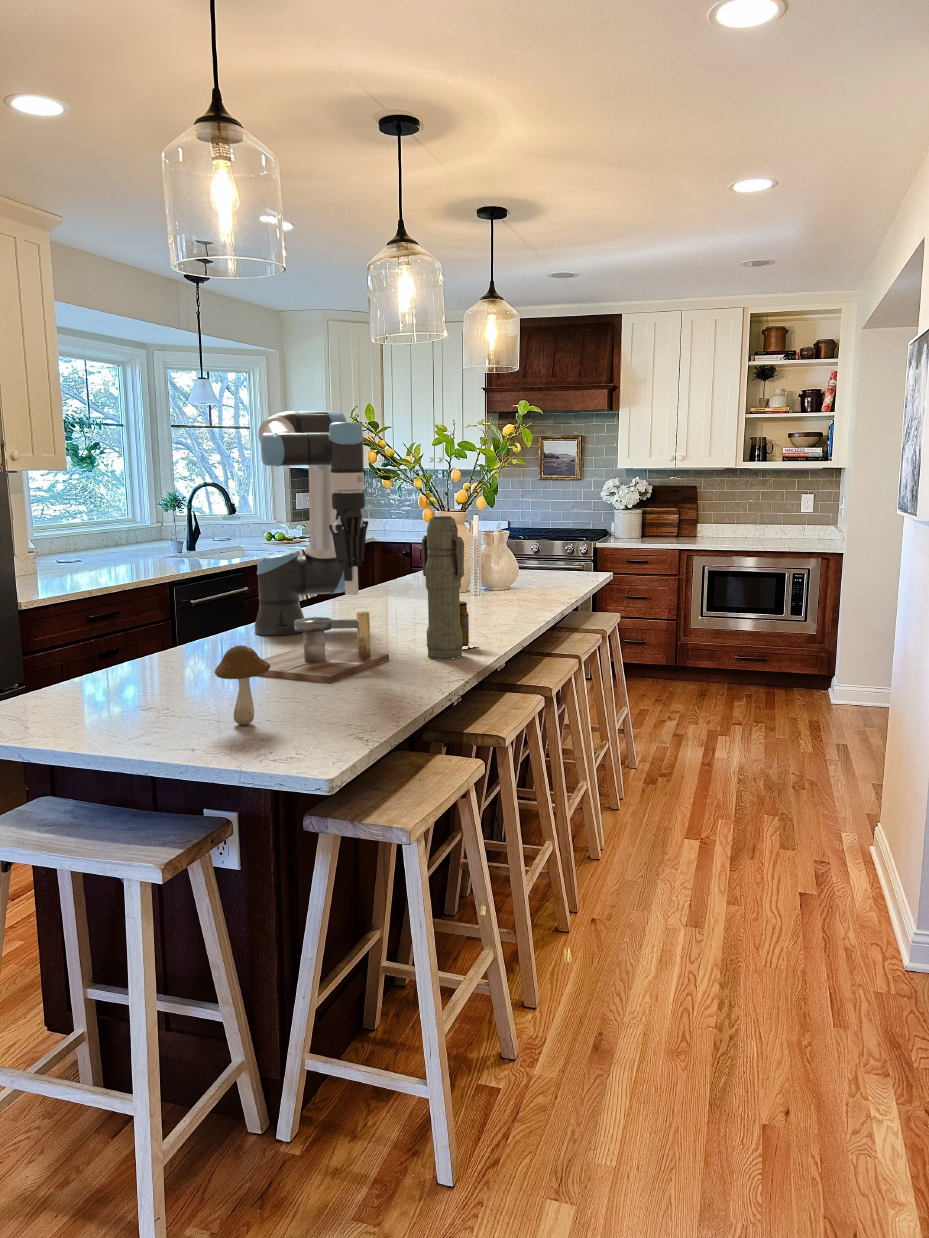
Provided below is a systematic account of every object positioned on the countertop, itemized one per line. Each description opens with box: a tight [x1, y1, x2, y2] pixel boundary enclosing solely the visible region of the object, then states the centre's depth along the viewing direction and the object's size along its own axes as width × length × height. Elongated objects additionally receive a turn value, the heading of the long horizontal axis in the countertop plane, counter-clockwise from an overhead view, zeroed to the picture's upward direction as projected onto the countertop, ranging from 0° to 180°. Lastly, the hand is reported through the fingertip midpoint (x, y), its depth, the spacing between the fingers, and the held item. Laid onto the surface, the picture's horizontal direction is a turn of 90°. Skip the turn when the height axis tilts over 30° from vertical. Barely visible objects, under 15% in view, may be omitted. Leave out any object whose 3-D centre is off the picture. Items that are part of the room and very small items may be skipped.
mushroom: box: [214, 645, 270, 726], centre depth 165 cm, size 9×11×15 cm
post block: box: [261, 631, 390, 684], centre depth 213 cm, size 26×26×9 cm
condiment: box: [460, 600, 470, 647], centre depth 234 cm, size 7×8×12 cm
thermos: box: [421, 515, 465, 660], centre depth 220 cm, size 9×12×35 cm
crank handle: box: [294, 611, 372, 659], centre depth 213 cm, size 10×18×11 cm, turn 90°
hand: (351, 594), depth 205 cm, fingers closed
